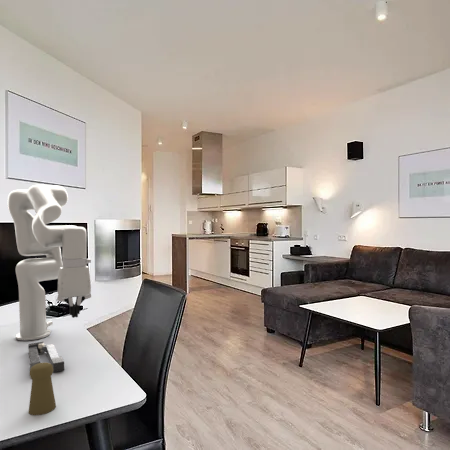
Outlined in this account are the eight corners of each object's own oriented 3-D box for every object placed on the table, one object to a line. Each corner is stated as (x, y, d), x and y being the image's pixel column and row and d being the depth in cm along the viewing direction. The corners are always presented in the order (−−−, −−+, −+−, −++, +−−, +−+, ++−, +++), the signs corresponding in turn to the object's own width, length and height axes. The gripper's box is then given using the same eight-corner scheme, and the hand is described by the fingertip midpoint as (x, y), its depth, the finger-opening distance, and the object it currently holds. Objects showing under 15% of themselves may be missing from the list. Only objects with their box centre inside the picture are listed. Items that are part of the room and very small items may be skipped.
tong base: (26, 352, 129) (26, 344, 129) (43, 349, 132) (43, 341, 132) (30, 378, 108) (30, 368, 108) (51, 373, 110) (50, 364, 110)
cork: (44, 416, 86) (43, 369, 86) (22, 414, 87) (21, 368, 87) (61, 403, 92) (60, 360, 92) (40, 401, 93) (39, 359, 93)
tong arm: (38, 352, 128) (37, 343, 128) (54, 349, 131) (54, 340, 131) (44, 374, 110) (44, 363, 109) (64, 370, 112) (63, 359, 112)
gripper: (95, 260, 131) (95, 311, 131) (49, 263, 123) (49, 316, 124) (99, 263, 124) (99, 316, 125) (51, 266, 116) (51, 322, 117)
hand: (74, 316), depth 124 cm, fingers closed
